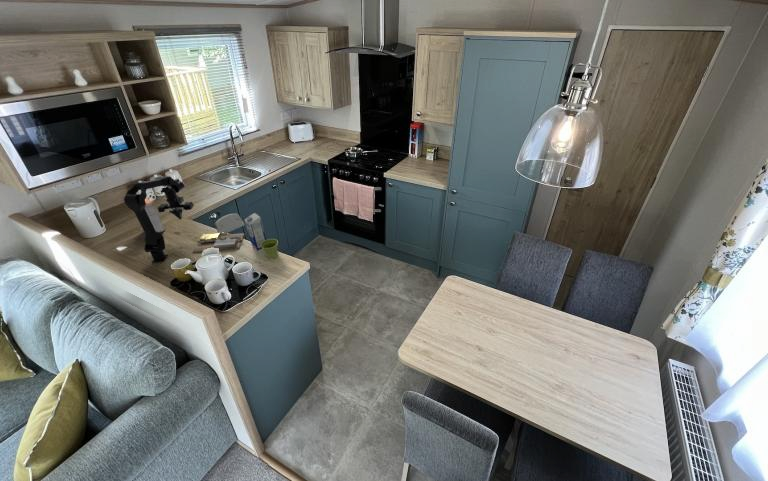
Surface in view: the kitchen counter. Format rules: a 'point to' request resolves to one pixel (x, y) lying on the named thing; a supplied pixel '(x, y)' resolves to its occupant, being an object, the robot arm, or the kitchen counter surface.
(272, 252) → the plant pot
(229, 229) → the grey rounded flat block
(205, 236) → the brass leaf
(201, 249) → the hinge bed
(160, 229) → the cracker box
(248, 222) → the milk carton
